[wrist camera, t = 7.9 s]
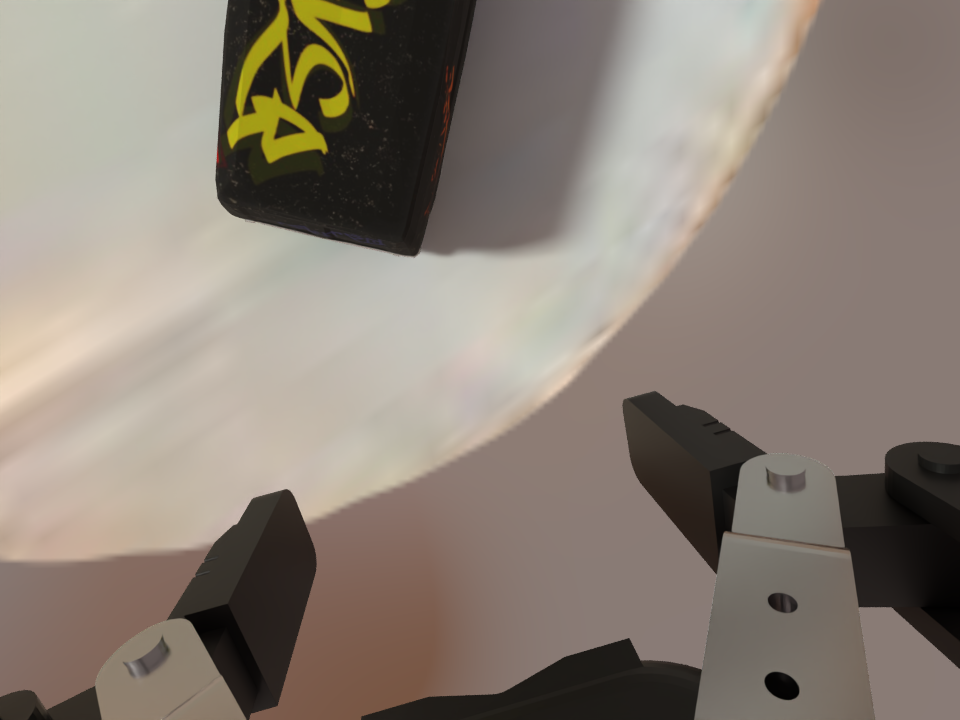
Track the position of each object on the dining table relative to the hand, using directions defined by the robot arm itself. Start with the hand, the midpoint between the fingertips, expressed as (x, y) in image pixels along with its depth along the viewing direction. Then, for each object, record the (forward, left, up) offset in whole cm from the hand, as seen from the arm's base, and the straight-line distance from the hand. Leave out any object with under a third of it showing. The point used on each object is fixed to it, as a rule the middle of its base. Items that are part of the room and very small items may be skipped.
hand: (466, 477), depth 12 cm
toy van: (-17, +1, -23) cm, 29 cm away
